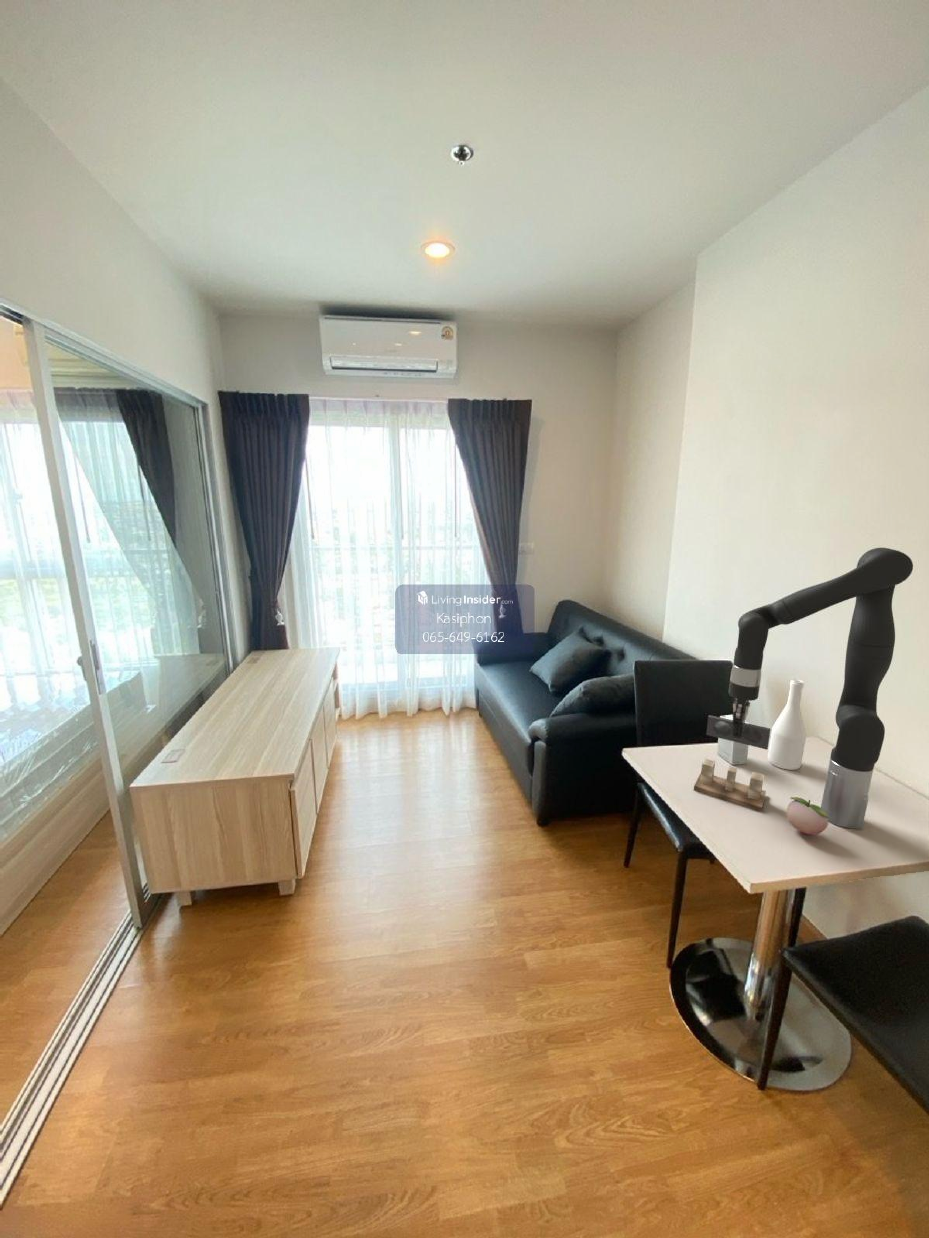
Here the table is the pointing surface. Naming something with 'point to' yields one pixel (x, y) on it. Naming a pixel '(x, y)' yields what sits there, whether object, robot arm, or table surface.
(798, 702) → the wine bottle
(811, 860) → the table surface
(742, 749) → the skincare box
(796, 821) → the decorative fruit
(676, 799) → the table surface
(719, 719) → the dark flat rectangular bar
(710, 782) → the wooden peg rack
